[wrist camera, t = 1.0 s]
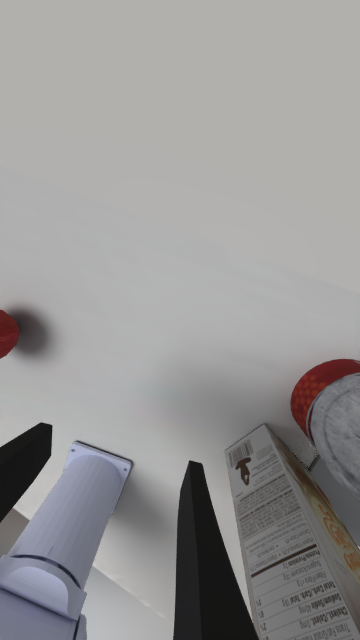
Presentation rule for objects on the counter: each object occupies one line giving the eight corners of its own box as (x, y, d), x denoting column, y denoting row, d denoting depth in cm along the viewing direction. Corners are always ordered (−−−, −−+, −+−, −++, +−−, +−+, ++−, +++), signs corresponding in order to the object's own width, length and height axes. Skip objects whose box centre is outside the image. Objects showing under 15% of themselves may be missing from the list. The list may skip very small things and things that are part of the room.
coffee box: (314, 473, 21) (698, 1078, 5) (270, 498, 22) (460, 1044, 6) (263, 420, 20) (516, 926, 4) (221, 450, 21) (292, 922, 5)
